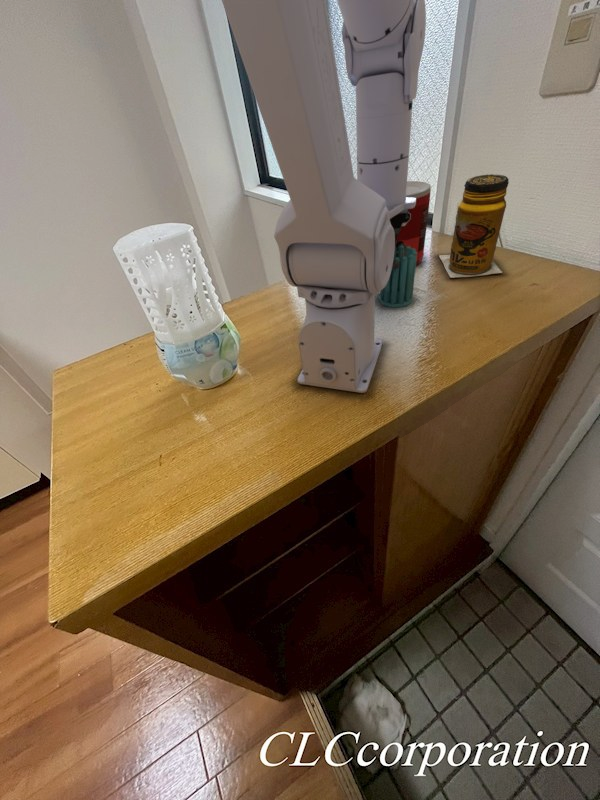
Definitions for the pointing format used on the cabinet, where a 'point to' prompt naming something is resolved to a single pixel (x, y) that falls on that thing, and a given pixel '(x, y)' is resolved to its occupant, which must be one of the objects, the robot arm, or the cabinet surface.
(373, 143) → the robot arm
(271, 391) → the cabinet surface
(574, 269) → the cabinet surface
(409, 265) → the pencil holder
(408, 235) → the canned food
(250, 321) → the cabinet surface
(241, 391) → the cabinet surface
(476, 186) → the condiment
